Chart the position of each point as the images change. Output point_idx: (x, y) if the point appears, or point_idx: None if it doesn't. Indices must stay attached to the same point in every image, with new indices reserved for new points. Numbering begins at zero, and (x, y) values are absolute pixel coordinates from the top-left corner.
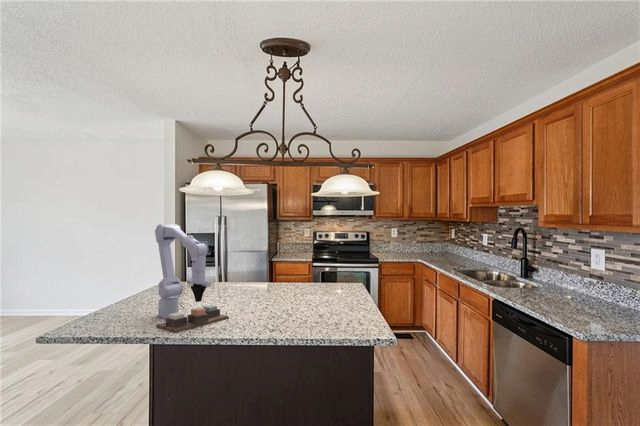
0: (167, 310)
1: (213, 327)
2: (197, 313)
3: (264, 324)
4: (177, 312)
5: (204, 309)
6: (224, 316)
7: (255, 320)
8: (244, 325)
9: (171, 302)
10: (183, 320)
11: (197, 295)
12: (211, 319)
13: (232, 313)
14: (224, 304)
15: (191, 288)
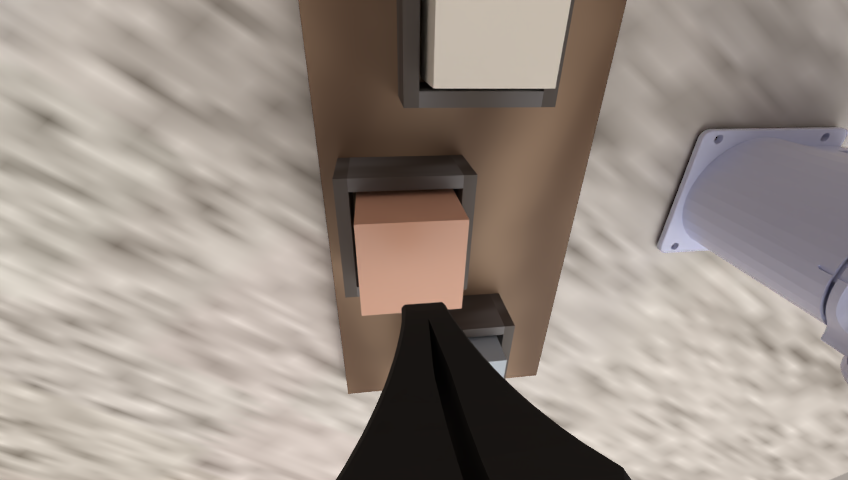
0: (783, 165)
1: (224, 221)
2: (355, 212)
3: (70, 436)
4: (552, 79)
5: (360, 301)
6: (362, 377)
7: (196, 442)
8: (126, 366)
9: (828, 223)
10: (401, 57)
11: (390, 373)
12: None
13: None
14: None
15: (580, 455)
